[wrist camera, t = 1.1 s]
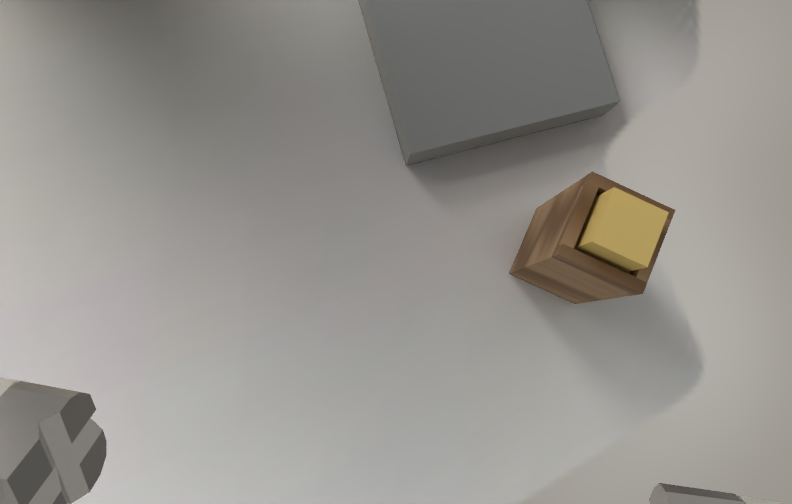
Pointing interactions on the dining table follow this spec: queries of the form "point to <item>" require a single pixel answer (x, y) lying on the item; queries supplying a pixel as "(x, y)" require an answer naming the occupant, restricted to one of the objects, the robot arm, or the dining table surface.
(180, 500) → the dining table surface
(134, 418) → the dining table surface
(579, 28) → the block
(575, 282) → the crate
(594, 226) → the block
